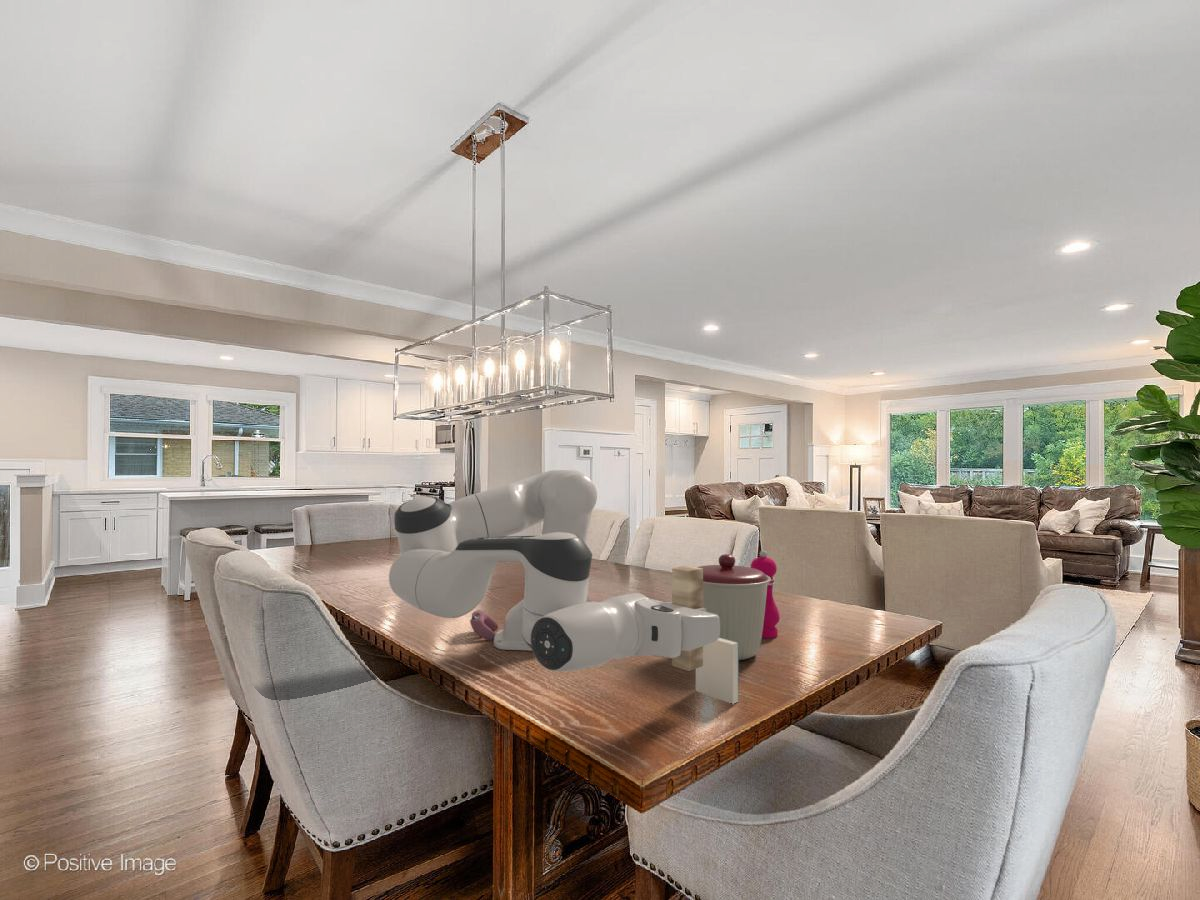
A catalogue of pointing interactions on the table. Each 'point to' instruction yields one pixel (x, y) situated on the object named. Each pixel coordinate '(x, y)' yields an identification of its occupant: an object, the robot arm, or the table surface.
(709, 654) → the tile
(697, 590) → the block
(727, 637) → the canister
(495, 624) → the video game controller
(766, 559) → the pepper mill
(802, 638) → the table surface
